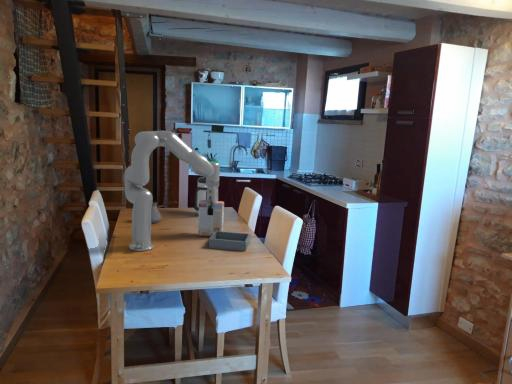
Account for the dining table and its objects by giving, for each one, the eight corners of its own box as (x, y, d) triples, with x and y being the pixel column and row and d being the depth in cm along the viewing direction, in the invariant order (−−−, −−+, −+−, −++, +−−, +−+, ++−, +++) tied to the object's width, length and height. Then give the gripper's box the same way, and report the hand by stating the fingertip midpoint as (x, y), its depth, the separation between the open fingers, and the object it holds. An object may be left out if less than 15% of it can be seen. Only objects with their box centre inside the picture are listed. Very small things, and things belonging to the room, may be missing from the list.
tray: (245, 251, 213) (246, 242, 212) (208, 247, 215) (209, 238, 214) (249, 242, 228) (249, 233, 227) (215, 239, 230) (215, 230, 229)
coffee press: (192, 212, 290) (193, 171, 285) (214, 212, 293) (216, 172, 288) (193, 218, 273) (194, 175, 268) (216, 218, 276) (218, 176, 271)
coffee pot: (141, 223, 253) (141, 200, 251) (145, 219, 265) (146, 197, 262) (174, 225, 254) (175, 202, 251) (178, 221, 265) (178, 199, 262)
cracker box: (223, 235, 239) (224, 201, 235) (221, 238, 233) (222, 203, 229) (200, 233, 240) (201, 199, 236) (197, 236, 234) (198, 201, 230)
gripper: (215, 186, 222) (214, 217, 225) (221, 181, 239) (220, 211, 242) (202, 185, 223) (201, 216, 226) (209, 180, 240) (208, 210, 243)
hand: (211, 213), depth 234 cm, fingers closed on cracker box, 5 cm apart
